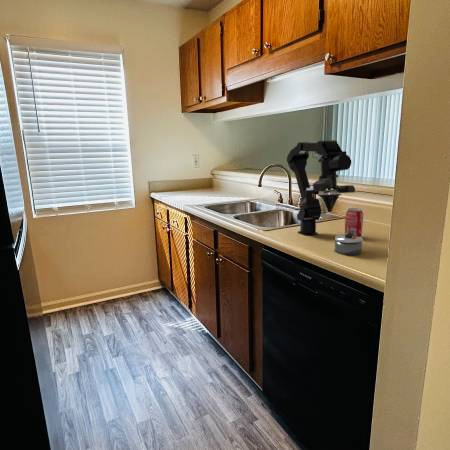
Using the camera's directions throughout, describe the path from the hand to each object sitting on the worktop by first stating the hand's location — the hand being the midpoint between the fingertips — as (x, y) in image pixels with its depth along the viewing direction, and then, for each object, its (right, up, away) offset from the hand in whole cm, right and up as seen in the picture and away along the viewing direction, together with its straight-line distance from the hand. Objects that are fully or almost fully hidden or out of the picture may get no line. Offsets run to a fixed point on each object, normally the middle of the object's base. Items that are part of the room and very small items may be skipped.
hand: (329, 212), depth 133 cm
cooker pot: (+4, -15, -9) cm, 18 cm away
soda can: (+14, -10, +12) cm, 21 cm away
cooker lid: (+4, -11, -10) cm, 15 cm away
